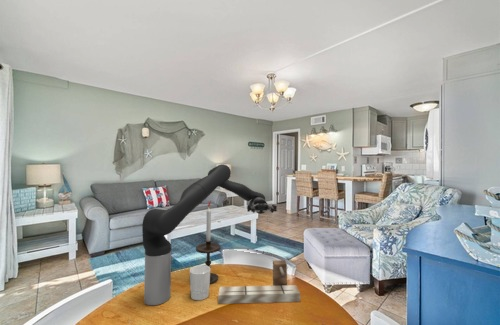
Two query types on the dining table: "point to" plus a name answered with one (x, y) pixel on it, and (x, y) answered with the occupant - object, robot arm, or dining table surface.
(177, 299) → the dining table surface
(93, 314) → the dining table surface
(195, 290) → the white cup
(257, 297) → the batten
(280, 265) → the upright wooden pillar
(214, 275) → the candlestick
